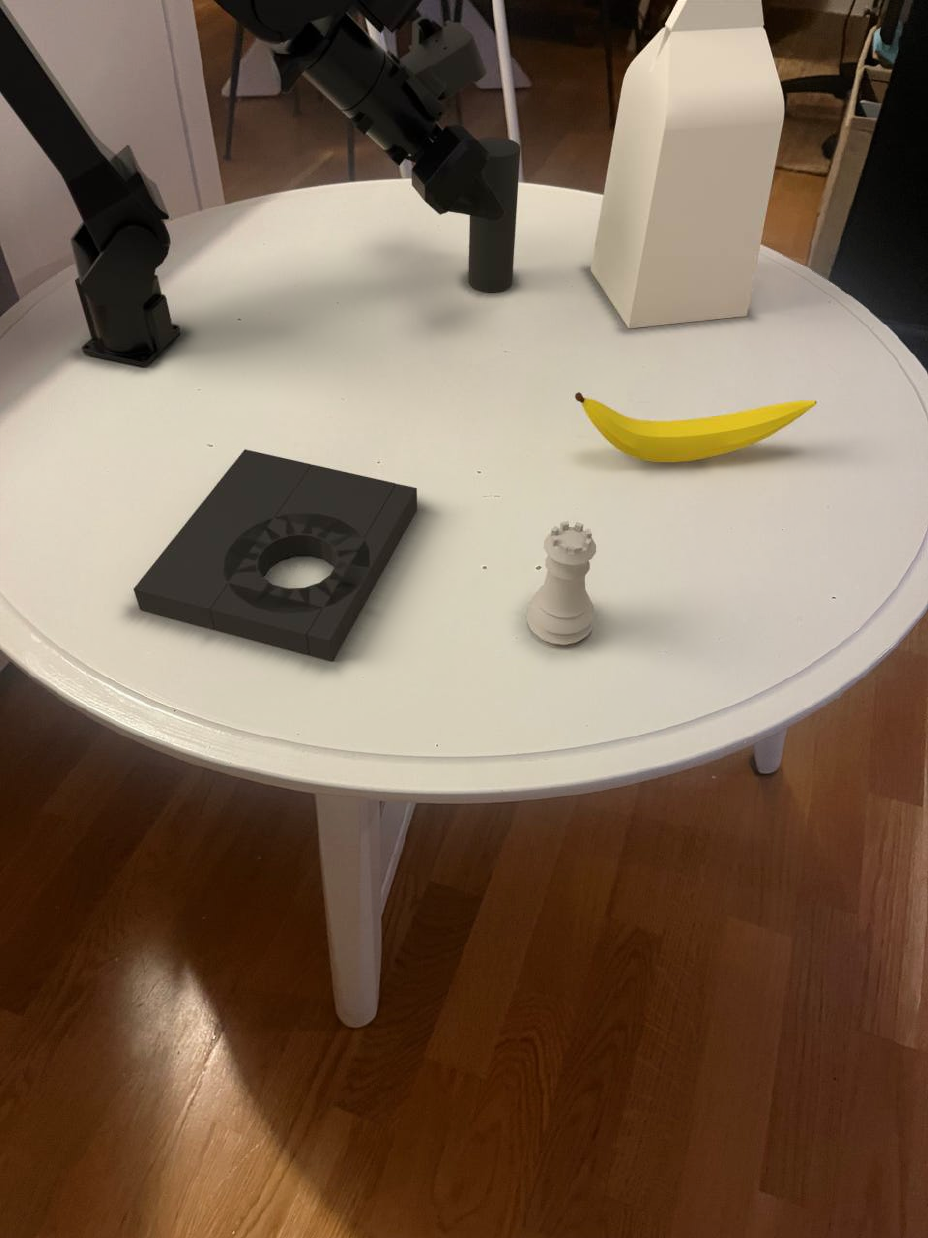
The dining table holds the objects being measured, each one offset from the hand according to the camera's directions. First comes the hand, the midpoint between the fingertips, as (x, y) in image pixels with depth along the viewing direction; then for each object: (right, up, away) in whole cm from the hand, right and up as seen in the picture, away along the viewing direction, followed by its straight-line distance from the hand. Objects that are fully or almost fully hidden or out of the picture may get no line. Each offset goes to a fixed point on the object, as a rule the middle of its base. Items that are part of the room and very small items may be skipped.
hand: (482, 195), depth 90 cm
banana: (+16, -26, -12) cm, 33 cm away
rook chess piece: (+5, -40, -25) cm, 47 cm away
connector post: (+1, -6, +7) cm, 9 cm away
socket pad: (-14, -35, -21) cm, 43 cm away
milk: (+18, -7, +6) cm, 21 cm away
